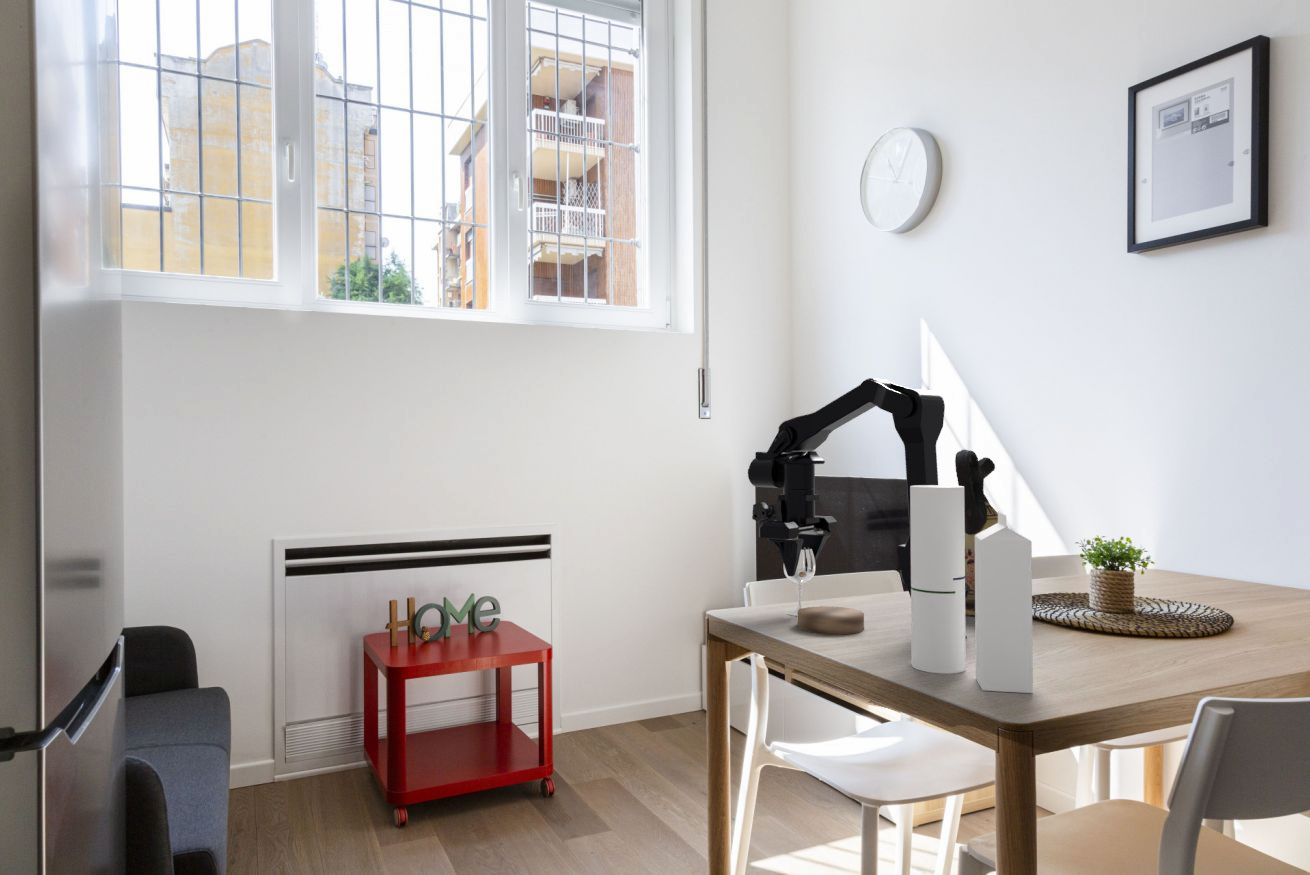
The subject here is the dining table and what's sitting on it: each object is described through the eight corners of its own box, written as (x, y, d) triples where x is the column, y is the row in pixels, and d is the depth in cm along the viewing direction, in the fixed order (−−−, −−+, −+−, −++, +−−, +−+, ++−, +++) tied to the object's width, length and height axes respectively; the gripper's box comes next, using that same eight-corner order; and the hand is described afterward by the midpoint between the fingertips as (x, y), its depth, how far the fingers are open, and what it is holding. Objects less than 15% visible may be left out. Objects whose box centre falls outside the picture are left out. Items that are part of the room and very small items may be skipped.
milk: (1023, 681, 111) (1023, 511, 111) (1033, 694, 105) (1033, 515, 106) (974, 678, 113) (974, 510, 113) (980, 691, 107) (980, 514, 107)
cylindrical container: (977, 669, 117) (975, 486, 117) (940, 676, 113) (939, 488, 114) (936, 658, 123) (935, 484, 124) (900, 664, 120) (899, 486, 120)
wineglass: (818, 616, 153) (817, 550, 153) (786, 616, 153) (785, 550, 154) (812, 610, 159) (812, 546, 159) (781, 610, 159) (781, 546, 159)
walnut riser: (875, 626, 145) (875, 611, 145) (845, 637, 137) (845, 621, 137) (817, 618, 152) (817, 604, 152) (785, 628, 144) (785, 613, 144)
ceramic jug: (954, 601, 168) (952, 449, 168) (1036, 611, 158) (1035, 449, 158) (917, 614, 155) (916, 449, 155) (1004, 626, 145) (1003, 449, 145)
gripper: (787, 485, 169) (787, 565, 169) (733, 489, 154) (734, 576, 154) (838, 487, 162) (838, 570, 162) (787, 491, 147) (787, 582, 147)
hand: (799, 574), depth 156 cm, fingers closed on wineglass, 6 cm apart
